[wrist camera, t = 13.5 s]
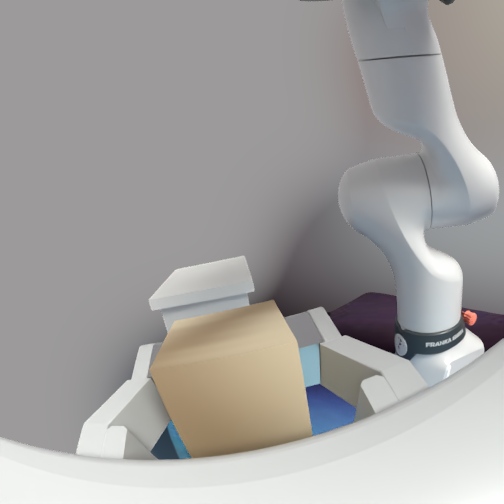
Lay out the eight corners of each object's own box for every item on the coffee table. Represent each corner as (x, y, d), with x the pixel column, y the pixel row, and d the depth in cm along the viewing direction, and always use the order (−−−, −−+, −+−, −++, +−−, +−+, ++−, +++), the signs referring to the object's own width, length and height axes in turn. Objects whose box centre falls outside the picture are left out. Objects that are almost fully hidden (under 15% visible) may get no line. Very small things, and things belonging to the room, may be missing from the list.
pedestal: (267, 367, 59) (244, 255, 55) (282, 425, 40) (252, 280, 36) (206, 378, 59) (175, 269, 55) (200, 438, 39) (148, 299, 35)
